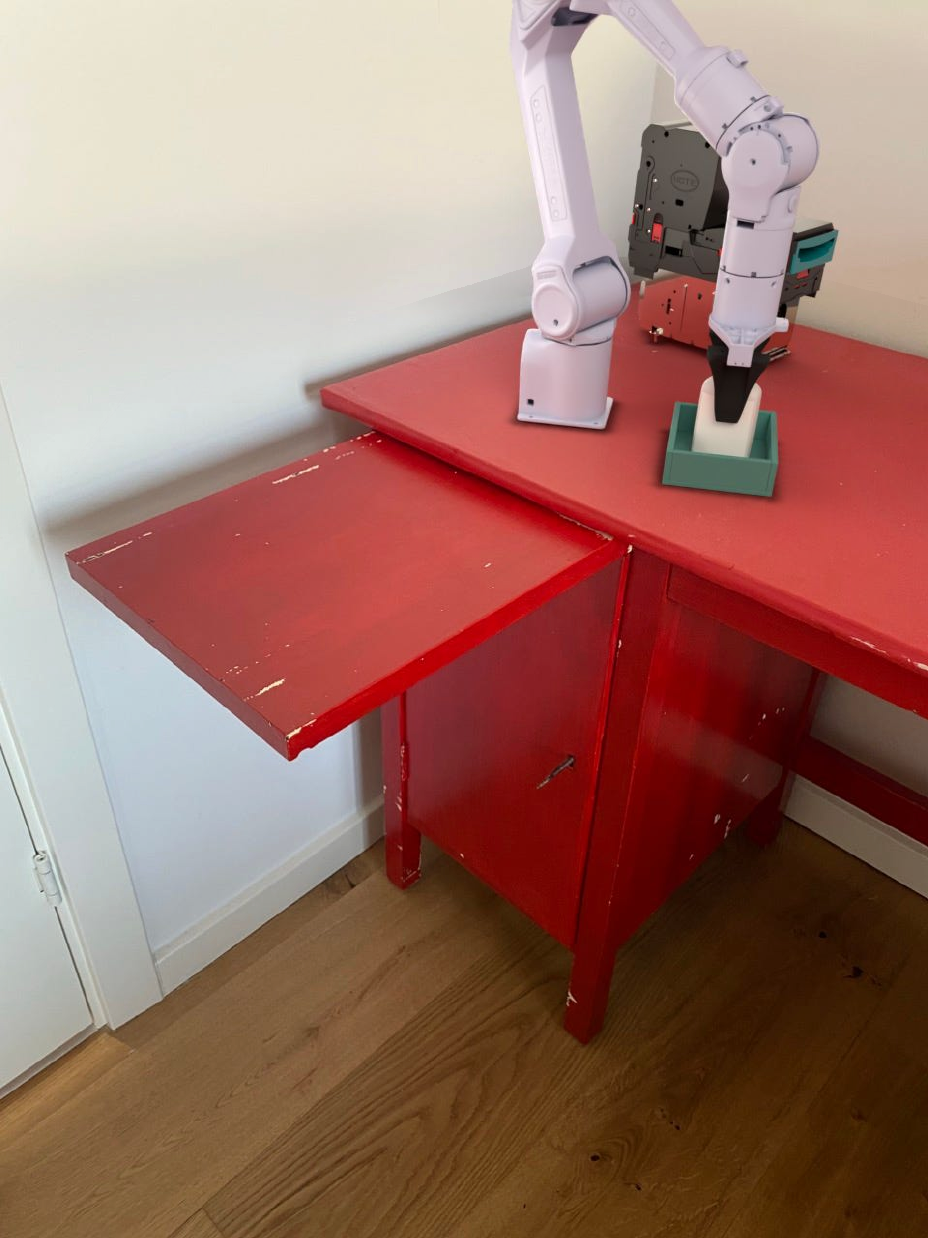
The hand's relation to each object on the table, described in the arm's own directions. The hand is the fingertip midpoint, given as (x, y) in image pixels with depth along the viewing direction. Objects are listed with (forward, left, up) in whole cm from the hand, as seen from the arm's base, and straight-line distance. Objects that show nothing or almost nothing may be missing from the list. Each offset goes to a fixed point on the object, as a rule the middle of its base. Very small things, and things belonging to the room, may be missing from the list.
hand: (727, 412), depth 94 cm
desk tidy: (0, 0, -5) cm, 5 cm away
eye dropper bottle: (0, 0, -5) cm, 5 cm away
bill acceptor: (-2, +35, -6) cm, 35 cm away
